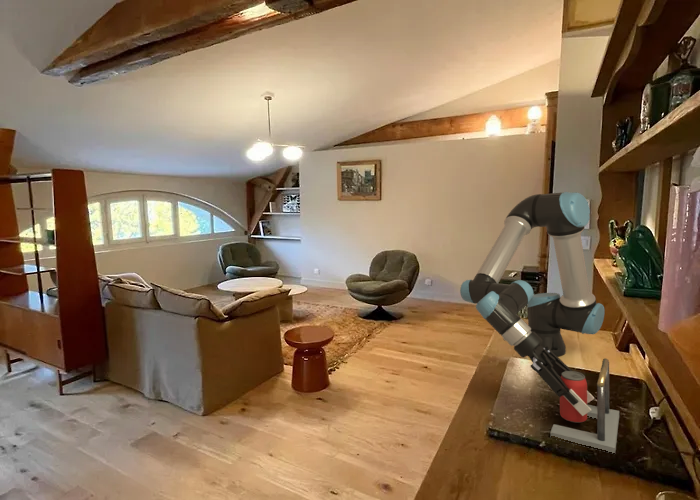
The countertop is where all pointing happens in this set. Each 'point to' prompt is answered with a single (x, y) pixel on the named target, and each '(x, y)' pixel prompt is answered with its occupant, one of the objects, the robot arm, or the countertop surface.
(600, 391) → the hook arm
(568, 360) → the countertop surface
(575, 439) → the grey u-shaped base plate
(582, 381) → the beer can
